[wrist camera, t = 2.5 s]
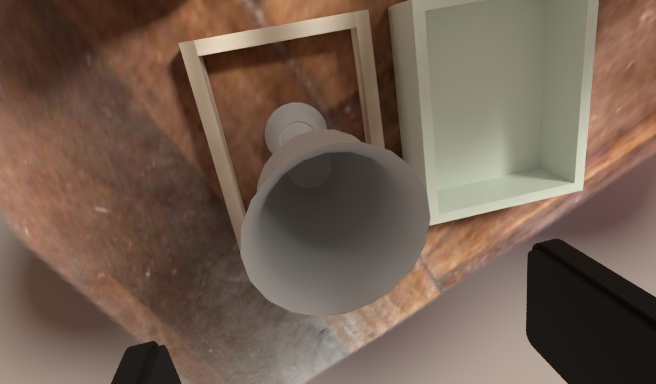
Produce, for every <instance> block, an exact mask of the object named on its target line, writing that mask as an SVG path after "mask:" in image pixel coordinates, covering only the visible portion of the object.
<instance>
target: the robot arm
mask: <svg viewBox="0 0 656 384" xmlns="http://www.w3.org/2000/svg"><path fill="white" fill-rule="evenodd" d="M527 265H528V266H527V313H526V316H527V317H526V318H527V319H526V334H527V338H528V340H529V342H530V343H531V345H532V346H533V347H534V348H535V349H536V350H537V352H538V353H539V354H540V355H541V356H542V357H543V358H544V359H545V360H546V361H547V362H548V363H549V364H550V365H551V366H552V367H553V368H554V370H555V371H556V372H557V373H558V374H559V375H560V376H561V377H562V378H563V379H564V380H565V381H566V382H567V383H568V384H656V297H654V296H653V295H651V294H649V293H648V292H646V291H644V290H643V289H641V288H639V287H638V286H636V285H634V284H633V283H631V282H630V281H628V280H626V279H625V278H623V277H621V276H620V275H618V274H616V273H615V272H613V271H612V270H610V269H608V268H606V267H605V266H603V265H602V264H600V263H598V262H596V261H595V260H594V259H592V258H590V257H588V256H587V255H585V254H584V253H582V252H580V251H579V250H577V249H575V248H574V247H572V246H570V245H569V244H567V243H565V242H564V241H562V240H560V239H552V240H549V241H544V242H541V243H536V244H535V245H534V246H533V248H532V251H530V252H529V253H528V264H527ZM111 384H181V382H180V379H179V376H178V374H177V372H176V369H175V367H174V364H173V362H172V360H171V357H170V355H169V352H168V350H167V348H166V346H165V345H161V346H158V344H157V343H156V342H155V341H151V342H147V343H143V344H139V345H135V346H131V347H129V348H127V350H126V351H125V353H124V355H123V358H122V360H121V362H120V364H119V367H118V369H117V371H116V374H115V376H114V378H113V380H112V383H111Z"/></svg>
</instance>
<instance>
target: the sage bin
mask: <svg viewBox="0 0 656 384" xmlns="http://www.w3.org/2000/svg"><path fill="white" fill-rule="evenodd" d="M598 6H599V0H408V1H405V2H402V3H398V4H395V5H392V6H389V7H387V8H388V18H389V27H390V37H391V47H392V57H393V67H394V77H395V87H396V97H397V107H398V117H399V127H400V136H401V146H402V156H403V160H404V161H405V162H406V163H407V164H409V165H410V166H411V167H413V168H414V170H415V172H416V174H417V175H418V177H419V179H420V180H421V182H422V184H423V186H424V187H425V189H426V191H427V196H428V203H429V210H430V217H431V218H430V223H429V226H431V225H435V224H439V223H444V222H448V221H452V220H457V219H461V218H465V217H469V216H474V215H478V214H482V213H487V212H491V211H495V210H499V209H504V208H508V207H512V206H516V205H521V204H525V203H529V202H534V201H538V200H542V199H546V198H551V197H555V196H559V195H564V194H568V193H572V192H576V191H581V190H583V182H584V170H585V158H586V147H587V135H588V123H589V111H590V100H591V88H592V76H593V64H594V53H595V41H596V29H597V17H598Z"/></svg>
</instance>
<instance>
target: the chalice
mask: <svg viewBox="0 0 656 384" xmlns="http://www.w3.org/2000/svg"><path fill="white" fill-rule="evenodd" d="M265 141H266V144H267V147H268V149H269V151H270V152H271V153H272V156H271V157H270V158H269V160H268V161H267V162H266V164H265V165H264V167H263V170H262V172H261V175H260V178H259V181H258V183H257V193H256V194H255V196H254V197H253V198H252V200H251V202H250V205H249V208H248V210H247V213H246V216H245V218H244V221H243V224H242V226H241V258H242V261H243V263H244V266H245V269H246V271H247V274H248V277H249V279H250V281H251V282H252V283H253V285H254V286H255V287H256V288H257V289H258V290H259V291H260V292H261V293H262V294H263V296H264V297H265V298H266V299H267V300H269V301H271V302H272V303H274V304H276V305H278V306H280V307H282V308H284V309H286V310H288V311H290V312H293V313H299V314H305V315H311V316H327V315H336V314H345V313H348V312H350V311H353V310H356V309H358V308H361V307H364V306H366V305H369V304H371V303H373V302H374V301H376V300H377V299H379V298H380V297H382V296H383V295H385V294H386V293H388V292H389V291H391V290H392V289H394V288H395V287H396V286H397V285H398V283H399V282H400V281H401V280H402V279H403V278H404V277H405V276H406V275H407V274H408V273H409V271H410V270H411V269H412V268H413V266H414V265H415V263H416V261H417V259H418V257H419V255H420V253H421V251H422V249H423V247H424V246H425V243H426V238H427V233H428V228H429V223H430V218H431V217H430V210H429V203H428V196H427V191H426V189H425V187H424V186H423V184H422V182H421V180H420V179H419V177H418V175H417V174H416V172H415V170H414V168H413V167H411V166H410V165H409V164H407V163H406V162H405V161H404V160H402V159H401V158H400V157H398V156H397V155H396V154H395V153H393V152H392V151H390V150H387V149H383V148H380V147H377V146H373V145H370V144H366V143H363V142H361V141H360V140H358V139H357V138H356V137H354V136H353V135H351V134H347V133H344V132H341V131H337V130H334V129H330V130H328V129H327V125H326V122H325V119H324V118H323V116H322V115H321V113H320V112H319V111H317V110H316V109H315V108H314V107H312V106H310V105H307V104H305V103H289V104H286V105H282V106H281V107H279V108H278V109H277V110H275V111H274V112H273V113H272V115H271V116H270V117H269V119H268V121H267V124H266V127H265Z"/></svg>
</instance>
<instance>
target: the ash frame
mask: <svg viewBox="0 0 656 384" xmlns="http://www.w3.org/2000/svg"><path fill="white" fill-rule="evenodd" d="M346 29H350V30H351V37H352V45H353V52H354V59H355V67H356V74H357V81H358V89H359V96H360V103H361V111H362V118H363V125H364V133H365V140H366V144H370V145H373V146H377V147H380V148H383V149H385V145H384V137H383V129H382V120H381V112H380V103H379V95H378V86H377V78H376V69H375V61H374V52H373V44H372V35H371V27H370V18H369V10H368V9H367V10H361V11H356V12H350V13H344V14H339V15H333V16H328V17H322V18H316V19H311V20H305V21H300V22H294V23H288V24H283V25H277V26H272V27H266V28H260V29H255V30H249V31H244V32H238V33H232V34H227V35H221V36H216V37H210V38H204V39H199V40H193V41H188V42H182V43H179V46H180V50H181V53H182V57H183V60H184V63H185V67H186V70H187V74H188V77H189V80H190V84H191V87H192V91H193V94H194V97H195V101H196V104H197V107H198V111H199V114H200V118H201V121H202V124H203V128H204V131H205V135H206V138H207V141H208V145H209V148H210V152H211V155H212V158H213V162H214V165H215V169H216V172H217V175H218V179H219V182H220V186H221V189H222V192H223V196H224V199H225V203H226V206H227V209H228V213H229V216H230V220H231V223H232V226H233V230H234V233H235V236H236V240H237V243H238V247H239V250H240V251H241V226H242V224H243V221H244V218H245V216H246V212H245V208H244V205H243V201H242V197H241V194H240V190H239V186H238V183H237V179H236V176H235V172H234V168H233V165H232V161H231V157H230V154H229V150H228V147H227V143H226V139H225V136H224V132H223V128H222V125H221V121H220V118H219V114H218V110H217V107H216V103H215V100H214V96H213V92H212V89H211V85H210V81H209V78H208V74H207V71H206V67H205V63H204V60H203V55H209V54H214V53H220V52H225V51H231V50H236V49H242V48H247V47H253V46H258V45H264V44H269V43H275V42H280V41H285V40H291V39H296V38H302V37H307V36H313V35H318V34H324V33H329V32H335V31H340V30H346Z"/></svg>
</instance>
